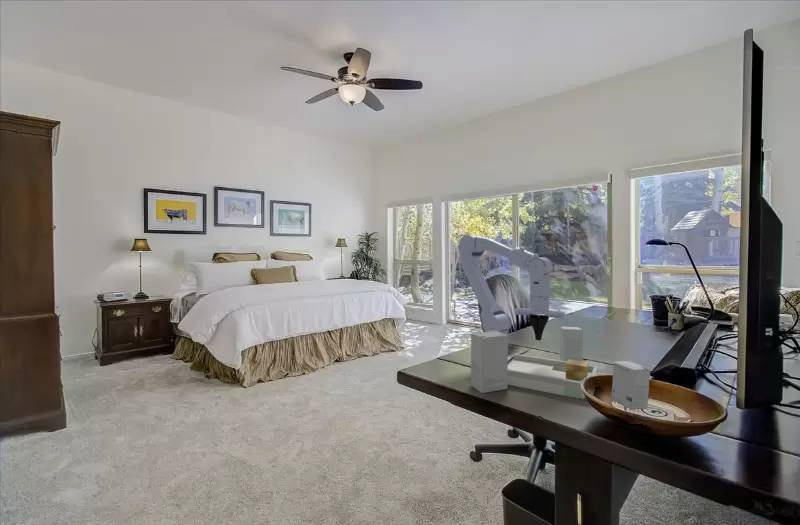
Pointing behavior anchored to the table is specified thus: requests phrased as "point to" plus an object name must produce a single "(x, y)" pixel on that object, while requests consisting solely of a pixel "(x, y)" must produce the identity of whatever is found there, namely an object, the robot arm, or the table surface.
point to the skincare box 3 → (630, 385)
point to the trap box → (544, 375)
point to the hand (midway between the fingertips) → (538, 339)
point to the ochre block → (576, 370)
